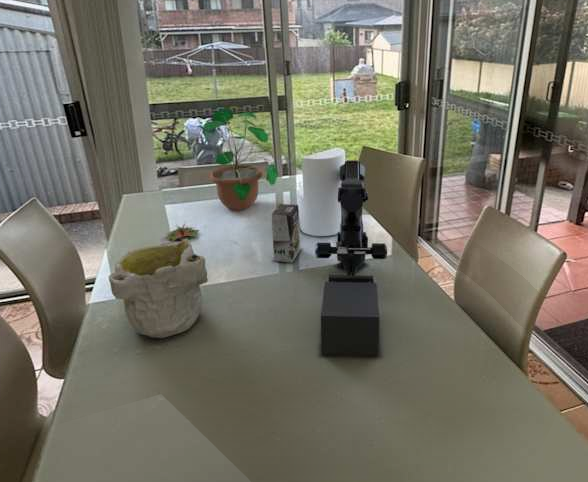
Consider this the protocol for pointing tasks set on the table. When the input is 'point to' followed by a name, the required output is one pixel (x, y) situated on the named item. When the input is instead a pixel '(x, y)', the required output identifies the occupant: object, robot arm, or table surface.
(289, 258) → the coffee box
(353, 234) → the robot arm
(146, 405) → the table surface
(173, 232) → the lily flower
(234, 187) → the potted plant
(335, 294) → the dark grey rectangular box
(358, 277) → the dark grey boxy piece
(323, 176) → the cylinder
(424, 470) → the table surface
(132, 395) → the table surface
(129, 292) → the ceramic vessel
